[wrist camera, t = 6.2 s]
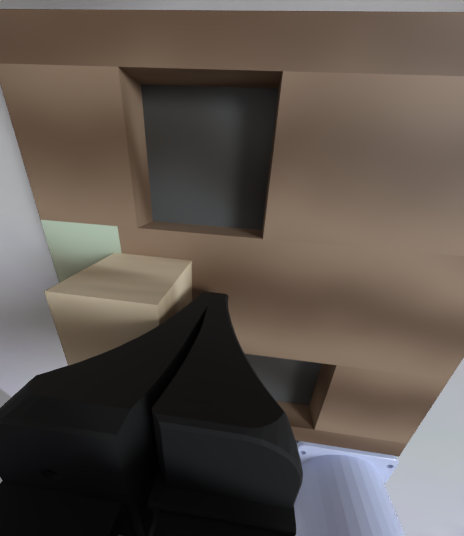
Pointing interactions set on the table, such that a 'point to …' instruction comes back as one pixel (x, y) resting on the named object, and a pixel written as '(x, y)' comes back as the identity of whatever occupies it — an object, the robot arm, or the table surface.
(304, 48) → the board
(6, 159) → the table surface
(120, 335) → the maple block
